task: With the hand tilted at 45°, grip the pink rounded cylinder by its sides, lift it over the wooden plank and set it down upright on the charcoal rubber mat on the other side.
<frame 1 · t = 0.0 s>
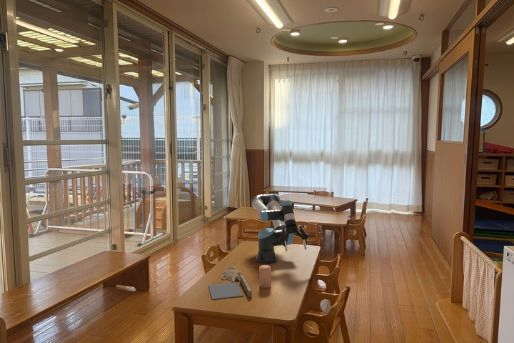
hand: (296, 250, 247), 15 cm above the table, fingers open, 13 cm apart
wooden plank: (245, 288, 222), on the table
mat: (225, 291, 219), on the table
turtle: (231, 279, 239), on the table
pink rounded cylinder: (265, 286, 226), on the table
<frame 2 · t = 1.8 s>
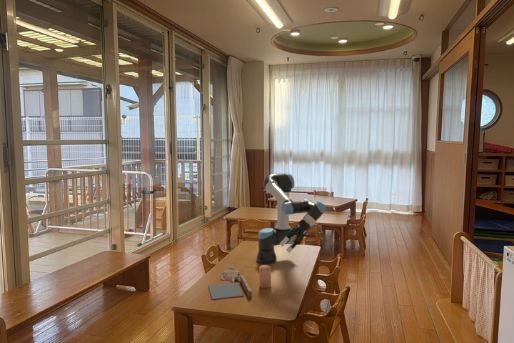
hand: (284, 248, 226), 23 cm above the table, fingers open, 13 cm apart
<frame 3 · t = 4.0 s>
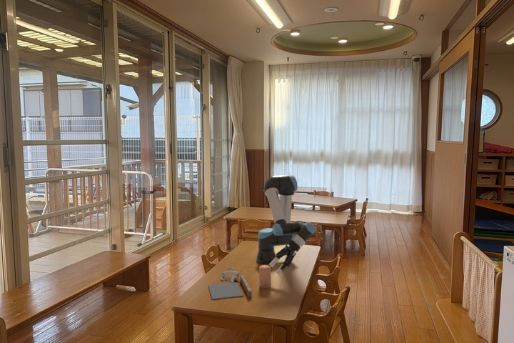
hand: (273, 269, 225), 10 cm above the table, fingers open, 13 cm apart
turtle: (230, 280, 237), on the table
everything else where it was.
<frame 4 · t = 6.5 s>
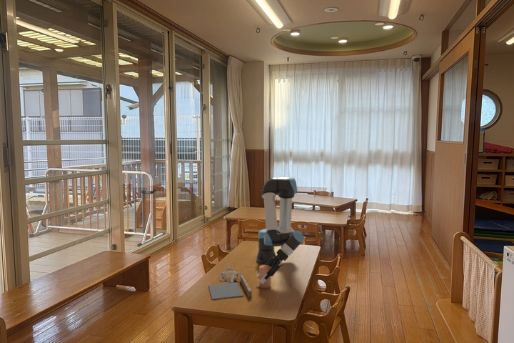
hand: (259, 280, 225), 4 cm above the table, fingers closed on pink rounded cylinder, 7 cm apart
pink rounded cylinder: (265, 286, 226), on the table, touching gripper
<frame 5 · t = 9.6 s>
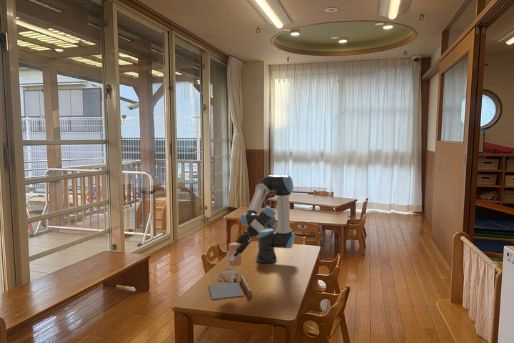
hand: (229, 258, 216), 21 cm above the table, fingers closed on pink rounded cylinder, 7 cm apart
pink rounded cylinder: (235, 264, 217), point 17 cm above the table, touching gripper
when the fingers open (6 cm above the table, at t = 13.2 s): pink rounded cylinder drops 1 cm, resting on mat.
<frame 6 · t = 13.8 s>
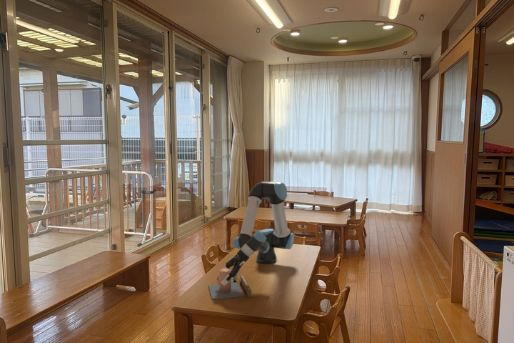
hand: (221, 279, 218), 7 cm above the table, fingers open, 13 cm apart
pink rounded cylinder: (225, 290, 219), point 1 cm above the table, touching mat
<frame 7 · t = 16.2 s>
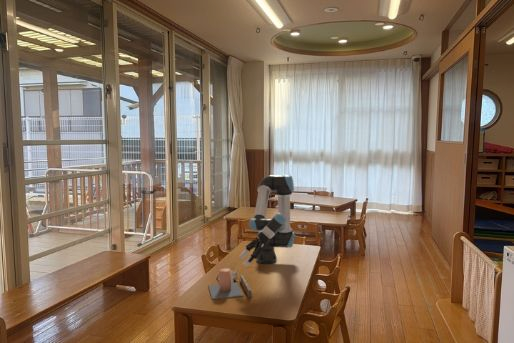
hand: (242, 261, 220), 17 cm above the table, fingers open, 13 cm apart
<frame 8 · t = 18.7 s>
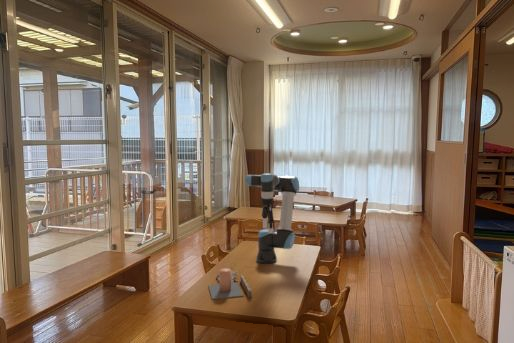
hand: (267, 230, 235), 32 cm above the table, fingers open, 13 cm apart
at the end: pink rounded cylinder inside the target area (0.1 cm from its centre), point 0.6 cm above the table; pink rounded cylinder tilted 1°; the gripper is holding nothing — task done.
